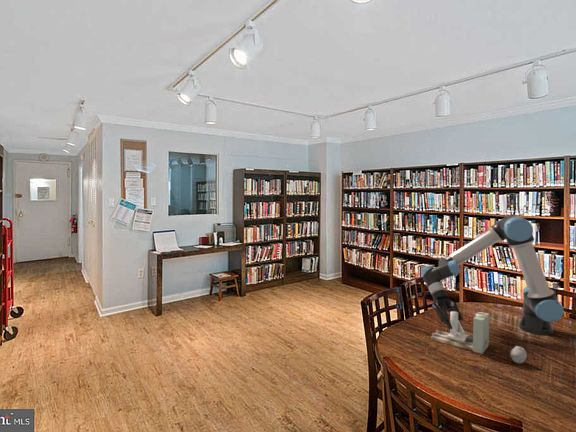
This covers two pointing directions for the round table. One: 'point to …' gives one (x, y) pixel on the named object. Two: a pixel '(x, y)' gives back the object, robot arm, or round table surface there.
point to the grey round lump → (518, 354)
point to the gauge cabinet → (480, 332)
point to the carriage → (455, 323)
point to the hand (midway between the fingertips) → (459, 334)
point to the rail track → (451, 340)
